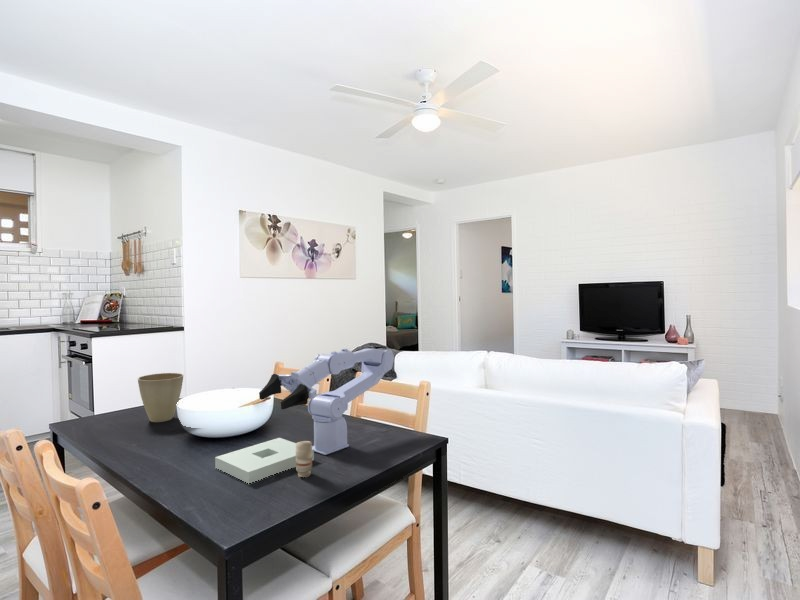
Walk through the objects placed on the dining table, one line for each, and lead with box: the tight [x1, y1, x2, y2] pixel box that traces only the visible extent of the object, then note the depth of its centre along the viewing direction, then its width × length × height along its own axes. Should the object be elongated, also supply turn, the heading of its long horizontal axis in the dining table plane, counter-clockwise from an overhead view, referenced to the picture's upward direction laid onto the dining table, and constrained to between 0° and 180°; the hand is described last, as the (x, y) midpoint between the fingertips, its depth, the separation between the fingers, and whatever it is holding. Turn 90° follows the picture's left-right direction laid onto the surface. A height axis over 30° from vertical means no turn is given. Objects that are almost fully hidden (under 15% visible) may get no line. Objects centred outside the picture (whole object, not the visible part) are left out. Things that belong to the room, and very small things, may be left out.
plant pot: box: [137, 372, 184, 423], centre depth 167 cm, size 15×15×16 cm
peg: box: [295, 440, 313, 479], centre depth 115 cm, size 4×4×8 cm
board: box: [214, 437, 315, 485], centre depth 122 cm, size 20×16×3 cm
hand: (270, 400), depth 116 cm, fingers open, 7 cm apart
